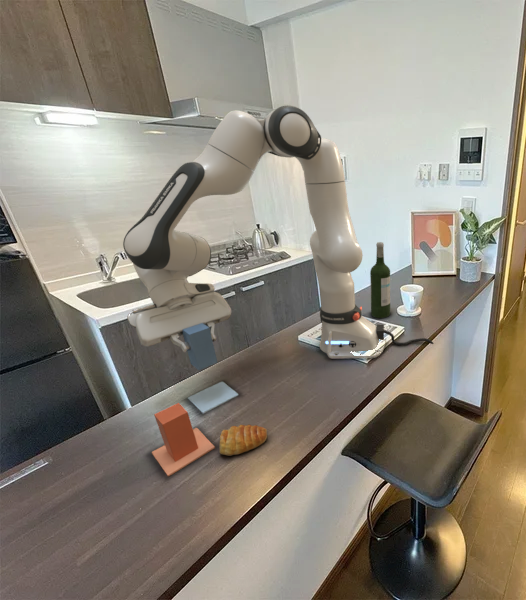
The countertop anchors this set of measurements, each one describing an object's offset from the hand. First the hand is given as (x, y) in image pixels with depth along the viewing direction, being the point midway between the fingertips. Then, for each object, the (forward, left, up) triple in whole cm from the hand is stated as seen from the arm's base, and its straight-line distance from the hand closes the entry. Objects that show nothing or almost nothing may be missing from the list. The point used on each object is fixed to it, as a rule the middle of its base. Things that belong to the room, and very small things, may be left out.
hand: (200, 345), depth 80 cm
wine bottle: (-33, -58, -16) cm, 69 cm away
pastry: (-16, +13, -16) cm, 26 cm away
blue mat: (0, 0, -16) cm, 16 cm away
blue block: (+1, 0, -5) cm, 5 cm away
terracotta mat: (-5, +17, -16) cm, 24 cm away
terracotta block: (-5, +17, -16) cm, 23 cm away
